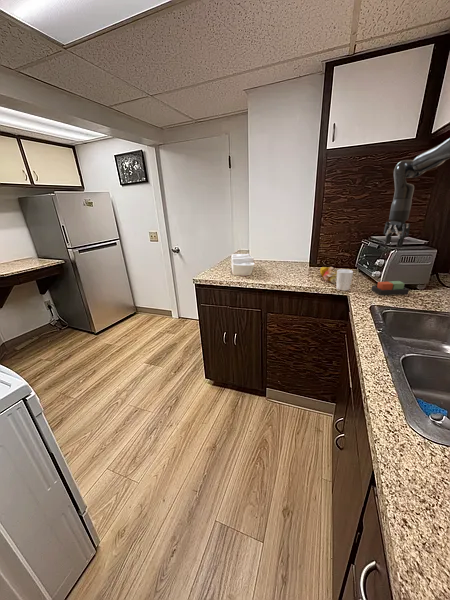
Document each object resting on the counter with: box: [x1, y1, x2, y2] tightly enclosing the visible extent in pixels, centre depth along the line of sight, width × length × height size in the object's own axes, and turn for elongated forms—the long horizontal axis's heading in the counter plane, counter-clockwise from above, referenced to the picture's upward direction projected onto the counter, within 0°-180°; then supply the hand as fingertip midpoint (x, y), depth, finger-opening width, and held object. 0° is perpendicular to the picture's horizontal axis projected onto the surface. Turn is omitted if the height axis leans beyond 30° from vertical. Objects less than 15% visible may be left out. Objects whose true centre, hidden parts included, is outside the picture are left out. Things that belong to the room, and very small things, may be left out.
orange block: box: [377, 281, 393, 290], centre depth 127 cm, size 5×4×5 cm
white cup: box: [335, 268, 354, 292], centre depth 133 cm, size 8×8×10 cm
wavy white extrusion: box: [230, 253, 256, 276], centre depth 179 cm, size 35×16×11 cm, turn 178°
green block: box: [388, 280, 406, 290], centre depth 127 cm, size 5×4×5 cm
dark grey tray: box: [370, 284, 410, 296], centre depth 127 cm, size 14×8×2 cm, turn 91°
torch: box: [319, 266, 337, 285], centre depth 152 cm, size 8×8×25 cm
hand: (393, 245), depth 119 cm, fingers open, 8 cm apart
